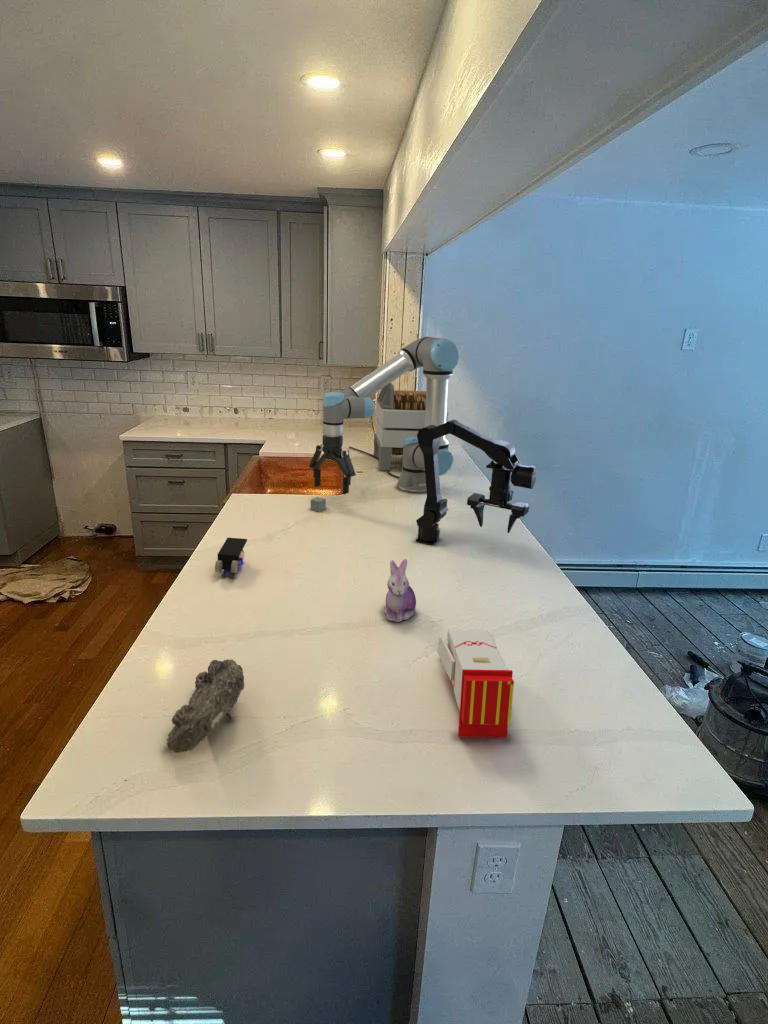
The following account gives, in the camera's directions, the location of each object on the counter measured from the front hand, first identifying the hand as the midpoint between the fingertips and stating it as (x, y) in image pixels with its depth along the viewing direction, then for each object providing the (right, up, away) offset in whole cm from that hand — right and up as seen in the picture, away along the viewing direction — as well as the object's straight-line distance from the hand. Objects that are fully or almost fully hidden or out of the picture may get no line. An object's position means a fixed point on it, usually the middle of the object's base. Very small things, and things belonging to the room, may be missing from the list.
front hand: (494, 529), depth 182 cm
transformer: (-24, +31, +110) cm, 117 cm away
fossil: (-68, -34, -74) cm, 106 cm away
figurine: (-32, -21, -35) cm, 52 cm away
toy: (-18, -32, -64) cm, 74 cm away
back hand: (-56, +14, +35) cm, 67 cm away
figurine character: (-81, -11, -15) cm, 83 cm away
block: (-61, +7, +38) cm, 72 cm away
